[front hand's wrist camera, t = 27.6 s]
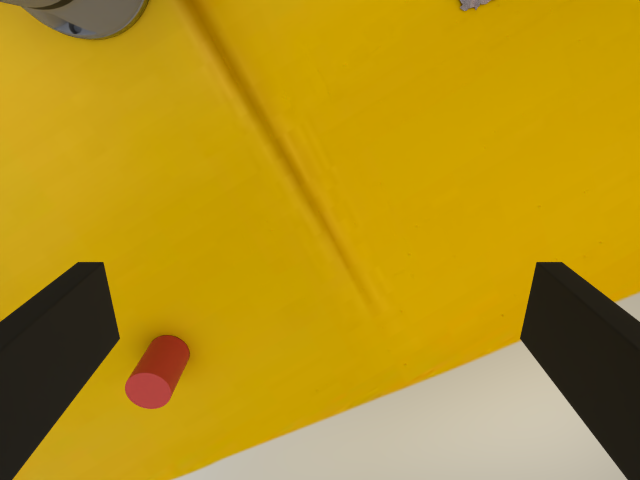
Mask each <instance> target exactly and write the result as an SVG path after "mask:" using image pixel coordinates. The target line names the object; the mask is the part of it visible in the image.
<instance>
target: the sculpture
mask: <svg viewBox="0 0 640 480" xmlns="http://www.w3.org/2000/svg"><path fill="white" fill-rule="evenodd" d="M460 1H461V3H462V4H463V5H462V6H461V7H460V8H461V9H462V10H464V11H467V9H468V8H472V7H475V10H476V9H477V8H478V7H479V5H480V4H486V3H488V2H489V1H490V0H460Z"/></svg>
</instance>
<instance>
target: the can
mask: <svg viewBox="0 0 640 480" xmlns="http://www.w3.org/2000/svg"><path fill="white" fill-rule="evenodd" d="M188 359H189V349H188V347H187V345H186V344H185V343H184V342H183V341H182V340H181V339H179V338H177V337H174V336H169V335H165V336H160V337H157V338H156V339H154V340H153V341H152V343H151V344H150V346H149V347H148V349H147V350H146V352H145V353H144V355H143V357H142V358H141V360H140V361H139V363H138V364H137V366H136V368H135V369H134V371H133V372H132V374H131V375H130V377H129V379H128V380H127V382H126V385H125V391H126V394H127V396H128V398H129V399H130V400H131V401H132V402H133V403H134V404H136V405H138V406H140V407H143V408H147V409H156V408H160V407H162V406H164V405H165V404H167V403H168V401H169V400H170V398H171V396H172V394H173V391H174V389H175V387H176V385H177V383H178V381H179V379H180V376H181V374H182V372H183V370H184V368H185V366H186V364H187V361H188Z"/></svg>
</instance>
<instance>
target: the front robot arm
mask: <svg viewBox="0 0 640 480" xmlns="http://www.w3.org/2000/svg"><path fill="white" fill-rule="evenodd" d="M148 1H149V0H0V2H4V3H9V4H13V5H18V6H21V7H22V8H24V9H25V10H26V11H27V12H29V13H30V14H31V15H32V16H34V17H35V18H36V19H38V20H39V21H40V22H42V23H43V24H45V25H47V26H48V27H50V28H52V29H54V30H56V31H59V32H61V33H63V34H66V35H69V36H73V37H77V38H83V39H91V40H99V39H107V38H111V37H114V36H116V35H119V34H121V33H123V32H124V31H126V30H127V29H129V28H130V27H131V26H132V25H133V24H134V23H135V22H136V21H137V20H138V19H139V18H140V16H141V15H142V13H143V12H144V10H145V8H146V6H147V3H148ZM119 339H120V337H119V332H118V327H117V323H116V318H115V314H114V309H113V304H112V300H111V295H110V291H109V286H108V281H107V277H106V272H105V268H104V263H103V262H78V263H76V264H75V265H74V266H72V267H71V268H70V269H69V270H67V271H66V272H65V273H63V274H62V275H61V276H59V277H58V278H57V279H56V280H54V281H53V282H52V283H50V284H49V285H48V286H46V287H45V288H44V289H43V290H41V291H40V292H39V293H37V294H36V295H35V296H33V297H32V298H31V299H30V300H28V301H27V302H26V303H24V304H23V305H22V306H20V307H19V308H18V309H17V310H15V311H14V312H13V313H11V314H10V315H9V316H7V317H6V318H5V319H4V320H2V321H1V322H0V480H12V479H13V478H14V477H15V475H16V474H17V473H18V471H19V470H20V469H21V468H22V466H23V465H24V464H25V462H26V461H27V460H28V458H29V457H30V456H31V454H32V453H33V452H34V450H35V449H36V448H37V447H38V445H39V444H40V443H41V441H42V440H43V439H44V437H45V436H46V435H47V433H48V432H49V431H50V430H51V428H52V427H53V426H54V424H55V423H56V422H57V420H58V419H59V418H60V416H61V415H62V414H63V412H64V411H65V410H66V409H67V407H68V406H69V405H70V403H71V402H72V401H73V399H74V398H75V397H76V395H77V394H78V393H79V392H80V390H81V389H82V388H83V386H84V385H85V384H86V382H87V381H88V380H89V378H90V377H91V376H92V374H93V373H94V372H95V371H96V369H97V368H98V367H99V365H100V364H101V363H102V361H103V360H104V359H105V357H106V356H107V355H108V353H109V352H110V351H111V350H112V348H113V347H114V346H115V344H116V343H117V342H118V340H119ZM520 339H521V340H522V342H523V343H524V344H525V346H526V347H527V348H528V350H529V351H530V352H531V353H532V355H533V356H534V357H535V359H536V360H537V361H538V363H539V364H540V365H541V367H542V368H543V369H544V371H545V372H546V373H547V374H548V376H549V377H550V378H551V380H552V381H553V382H554V384H555V385H556V386H557V387H558V389H559V390H560V392H561V393H562V394H563V395H564V397H565V398H566V399H567V401H568V402H569V403H570V405H571V406H572V407H573V409H574V410H575V411H576V412H577V414H578V415H579V416H580V418H581V419H582V420H583V422H584V423H585V424H586V426H587V427H588V428H589V430H590V431H591V432H592V433H593V435H594V436H595V437H596V439H597V440H598V441H599V443H600V444H601V445H602V447H603V448H604V449H605V450H606V452H607V453H608V454H609V456H610V457H611V458H612V460H613V461H614V462H615V464H616V465H617V466H618V467H619V469H620V470H621V471H622V473H623V474H624V475H625V477H626V478H627V479H628V480H640V322H639V321H638V320H636V319H635V318H634V317H633V316H631V315H630V314H629V313H627V312H626V311H625V310H623V309H622V308H621V307H620V306H618V305H617V304H616V303H614V302H613V301H612V300H610V299H609V298H608V297H607V296H605V295H604V294H603V293H601V292H600V291H599V290H597V289H596V288H595V287H594V286H592V285H591V284H590V283H588V282H587V281H586V280H584V279H583V278H582V277H581V276H579V275H578V274H577V273H575V272H574V271H573V270H571V269H570V268H569V267H568V266H566V265H565V264H564V263H562V262H537V263H536V268H535V272H534V277H533V281H532V286H531V291H530V295H529V300H528V304H527V309H526V314H525V318H524V323H523V327H522V332H521V337H520Z"/></svg>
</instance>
